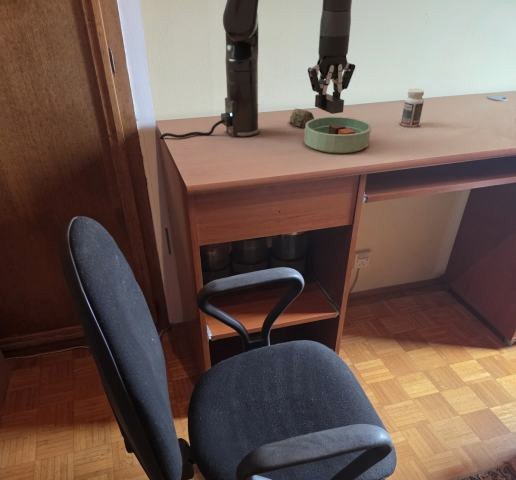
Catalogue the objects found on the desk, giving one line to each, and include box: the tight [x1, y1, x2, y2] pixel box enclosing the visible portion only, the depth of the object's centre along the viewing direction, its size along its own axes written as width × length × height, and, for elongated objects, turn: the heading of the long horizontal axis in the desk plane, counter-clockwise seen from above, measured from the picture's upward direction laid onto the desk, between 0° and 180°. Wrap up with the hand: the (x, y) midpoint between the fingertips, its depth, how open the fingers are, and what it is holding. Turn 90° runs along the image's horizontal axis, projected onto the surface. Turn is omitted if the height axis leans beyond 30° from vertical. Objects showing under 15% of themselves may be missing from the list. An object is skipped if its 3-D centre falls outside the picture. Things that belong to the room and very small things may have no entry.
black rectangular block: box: [314, 92, 345, 115], centre depth 123 cm, size 9×4×3 cm, turn 26°
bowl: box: [303, 116, 372, 154], centre depth 130 cm, size 19×19×5 cm
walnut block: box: [328, 124, 346, 135], centre depth 132 cm, size 4×4×4 cm
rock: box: [289, 108, 315, 129], centre depth 145 cm, size 7×8×4 cm
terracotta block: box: [338, 128, 356, 135], centre depth 129 cm, size 4×4×4 cm
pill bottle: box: [400, 88, 425, 128], centre depth 142 cm, size 6×6×10 cm
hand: (328, 107), depth 124 cm, fingers closed on black rectangular block, 3 cm apart
